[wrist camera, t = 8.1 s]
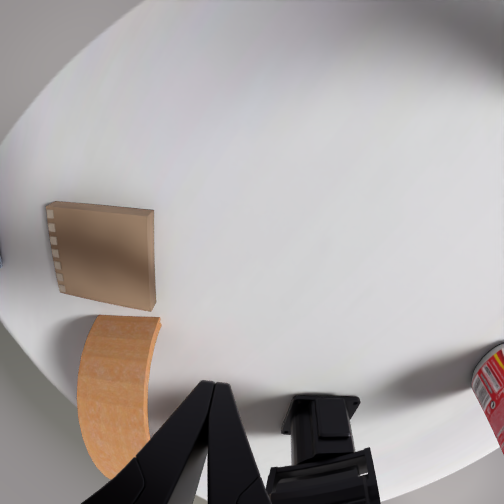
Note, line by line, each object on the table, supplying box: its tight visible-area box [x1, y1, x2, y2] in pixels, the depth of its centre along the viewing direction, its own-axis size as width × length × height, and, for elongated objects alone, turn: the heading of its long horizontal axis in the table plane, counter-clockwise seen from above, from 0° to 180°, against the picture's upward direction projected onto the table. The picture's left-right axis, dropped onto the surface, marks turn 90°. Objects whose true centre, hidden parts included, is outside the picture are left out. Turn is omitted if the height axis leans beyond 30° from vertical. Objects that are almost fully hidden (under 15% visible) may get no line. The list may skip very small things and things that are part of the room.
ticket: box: [46, 201, 156, 312], centre depth 20 cm, size 7×8×1 cm
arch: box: [77, 315, 161, 480], centre depth 22 cm, size 6×20×10 cm, turn 3°
